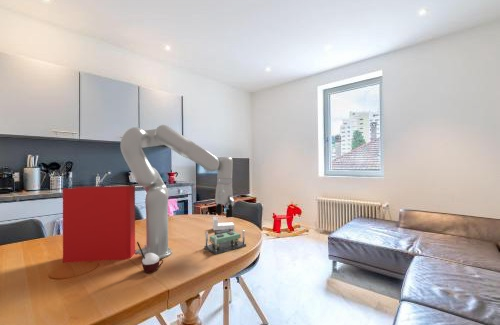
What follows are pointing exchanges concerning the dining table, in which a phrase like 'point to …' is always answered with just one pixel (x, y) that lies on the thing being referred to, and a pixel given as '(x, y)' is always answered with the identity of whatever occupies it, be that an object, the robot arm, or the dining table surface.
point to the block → (221, 231)
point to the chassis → (224, 244)
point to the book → (98, 223)
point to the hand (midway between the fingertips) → (223, 215)
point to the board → (225, 237)
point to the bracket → (221, 225)
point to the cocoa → (150, 261)
